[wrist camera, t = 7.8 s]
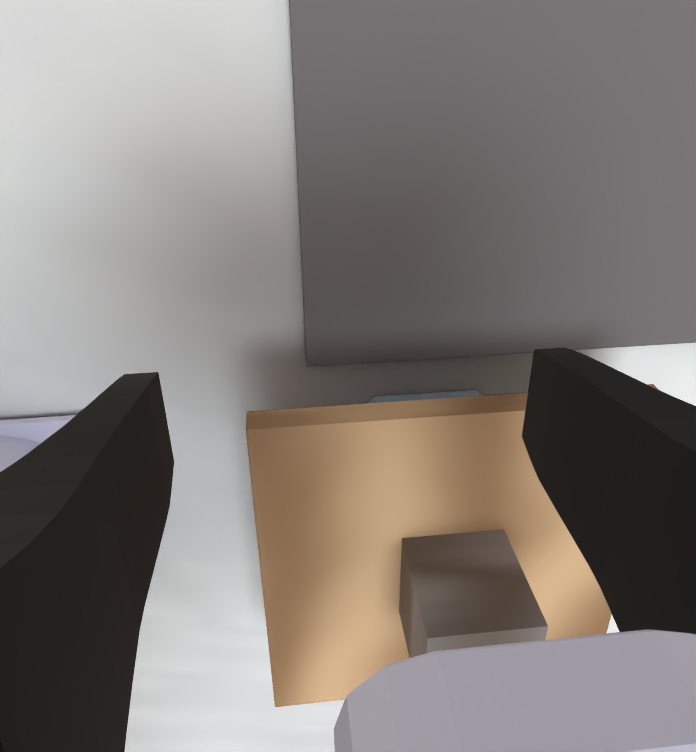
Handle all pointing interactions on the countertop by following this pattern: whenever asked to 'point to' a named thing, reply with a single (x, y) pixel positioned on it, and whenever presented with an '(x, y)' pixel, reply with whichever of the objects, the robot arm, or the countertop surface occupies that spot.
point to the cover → (406, 539)
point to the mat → (494, 175)
